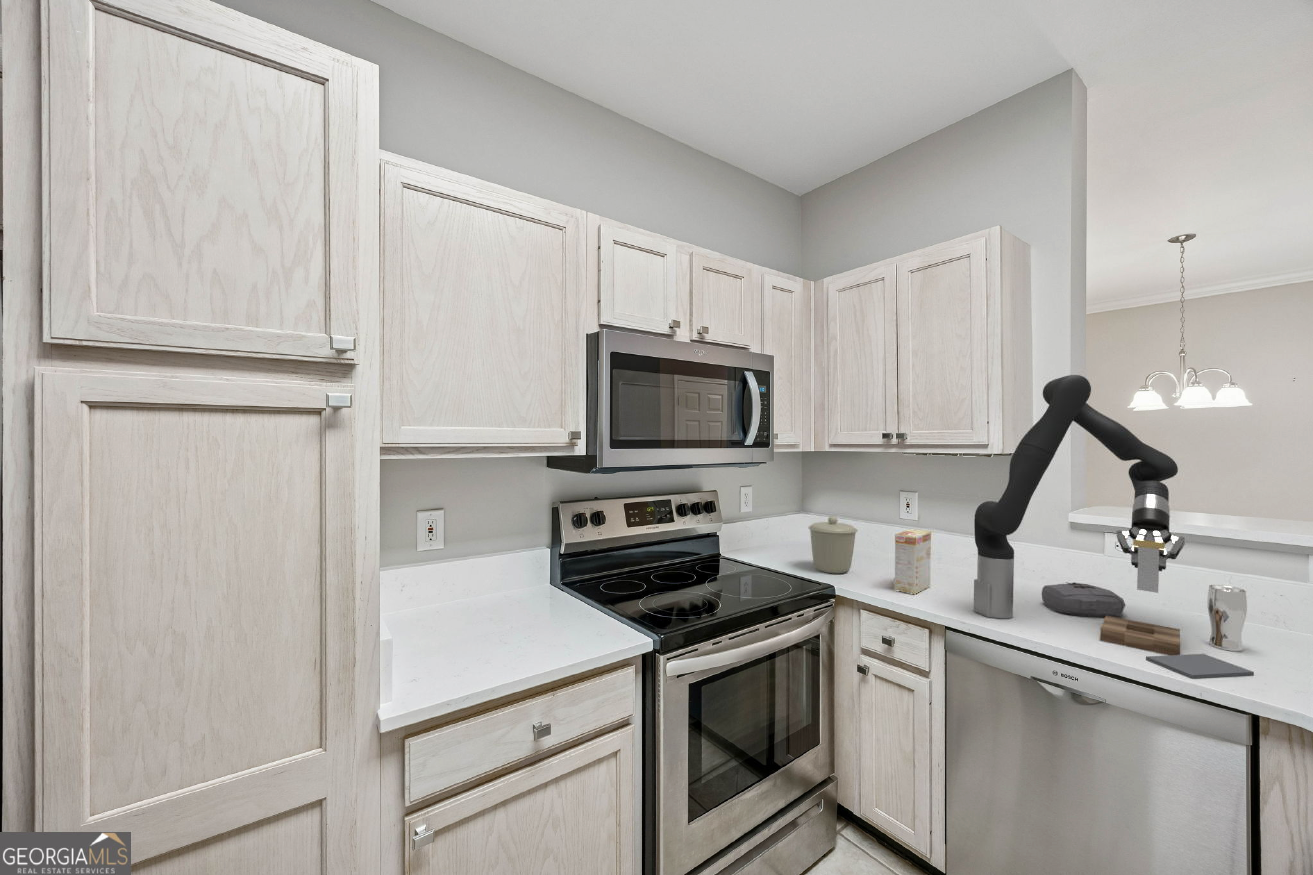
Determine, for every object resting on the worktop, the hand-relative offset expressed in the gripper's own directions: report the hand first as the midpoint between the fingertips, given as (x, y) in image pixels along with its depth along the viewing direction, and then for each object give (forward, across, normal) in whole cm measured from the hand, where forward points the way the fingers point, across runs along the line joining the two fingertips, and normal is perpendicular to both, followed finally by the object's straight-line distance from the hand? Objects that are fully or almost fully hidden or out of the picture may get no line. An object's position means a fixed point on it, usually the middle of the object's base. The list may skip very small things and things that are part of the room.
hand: (1148, 567), depth 139 cm
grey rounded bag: (-2, -15, +31) cm, 35 cm away
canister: (+5, -91, +24) cm, 94 cm away
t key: (+3, 0, +6) cm, 6 cm away
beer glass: (+5, +15, +24) cm, 28 cm away
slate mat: (+21, +9, +8) cm, 24 cm away
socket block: (+12, -1, +16) cm, 20 cm away
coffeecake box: (+7, -60, +22) cm, 64 cm away
